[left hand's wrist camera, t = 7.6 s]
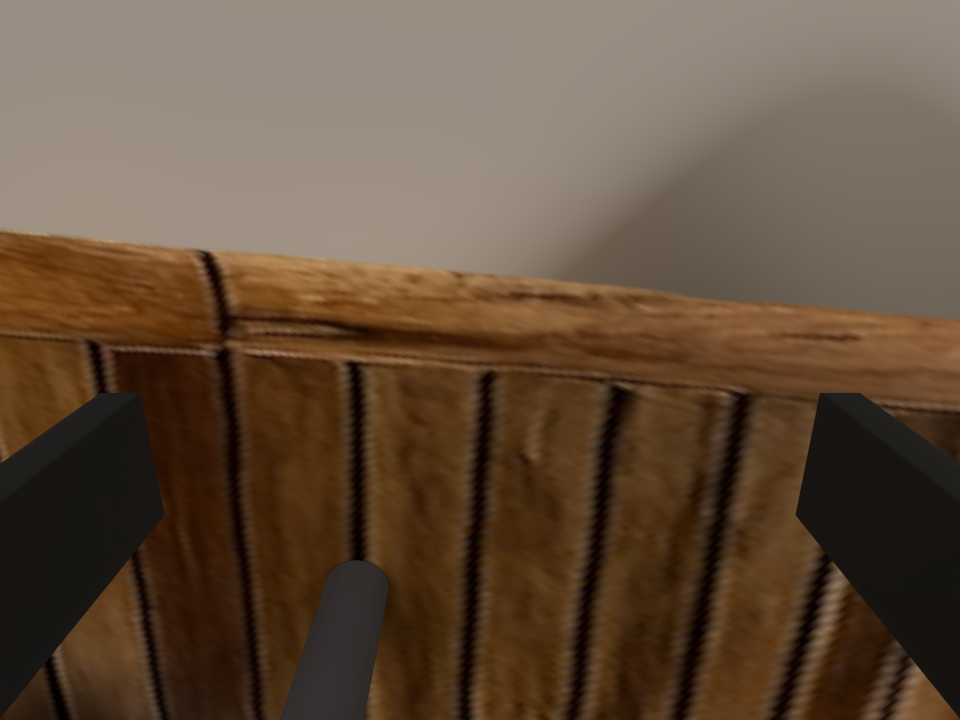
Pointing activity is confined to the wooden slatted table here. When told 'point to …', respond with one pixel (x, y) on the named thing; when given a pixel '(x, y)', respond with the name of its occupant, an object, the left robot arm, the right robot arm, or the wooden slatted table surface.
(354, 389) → the wooden slatted table surface
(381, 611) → the jar
